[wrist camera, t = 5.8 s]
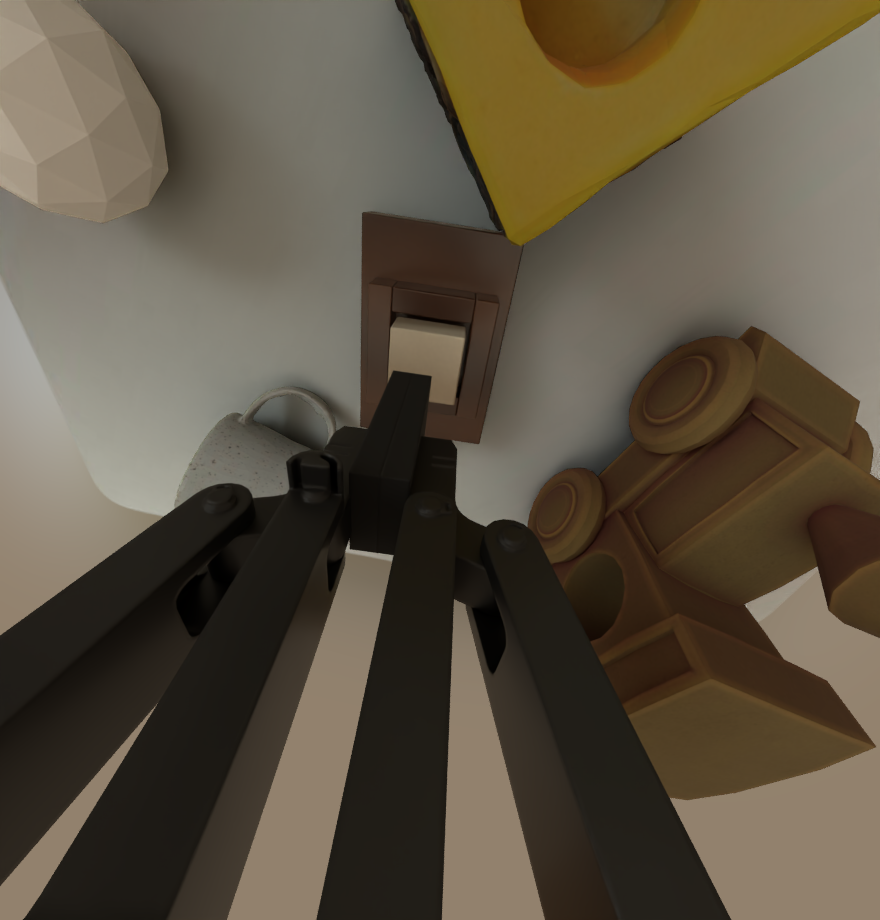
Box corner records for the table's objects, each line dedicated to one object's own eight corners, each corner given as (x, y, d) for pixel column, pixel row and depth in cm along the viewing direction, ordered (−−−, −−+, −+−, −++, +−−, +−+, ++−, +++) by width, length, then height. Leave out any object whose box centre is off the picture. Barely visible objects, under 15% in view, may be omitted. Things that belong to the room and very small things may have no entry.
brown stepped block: (371, 211, 20) (352, 212, 17) (520, 234, 20) (530, 240, 17) (367, 412, 27) (353, 441, 23) (478, 428, 27) (479, 459, 23)
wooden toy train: (607, 568, 34) (699, 812, 20) (502, 519, 32) (526, 760, 18) (832, 391, 24) (1332, 652, 10) (701, 297, 21) (1131, 472, 7)
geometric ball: (198, 157, 21) (201, 252, 18) (28, 159, 19) (0, 264, 16) (107, -70, 14) (88, 20, 11) (-166, -100, 13) (-277, -1, 10)
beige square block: (397, 315, 19) (390, 326, 18) (466, 326, 19) (465, 338, 18) (393, 380, 21) (386, 396, 20) (455, 390, 21) (454, 406, 20)
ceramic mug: (320, 508, 32) (284, 582, 26) (224, 468, 30) (160, 537, 24) (367, 412, 27) (337, 475, 20) (254, 356, 25) (182, 406, 19)
